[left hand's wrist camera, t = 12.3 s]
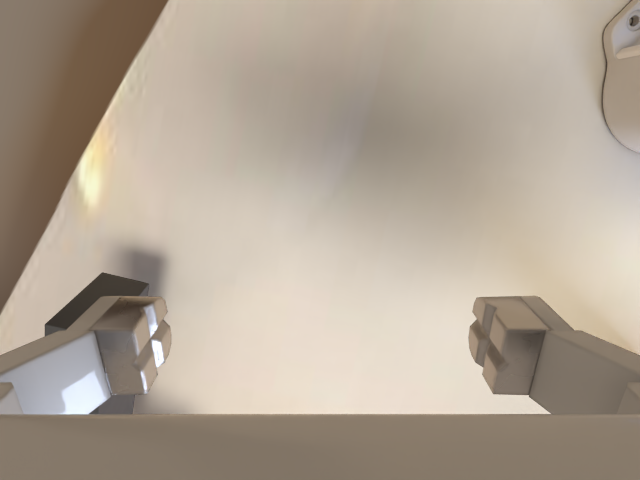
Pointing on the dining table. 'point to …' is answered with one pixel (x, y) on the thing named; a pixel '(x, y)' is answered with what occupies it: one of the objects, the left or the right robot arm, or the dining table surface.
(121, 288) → the bar
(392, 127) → the dining table surface
